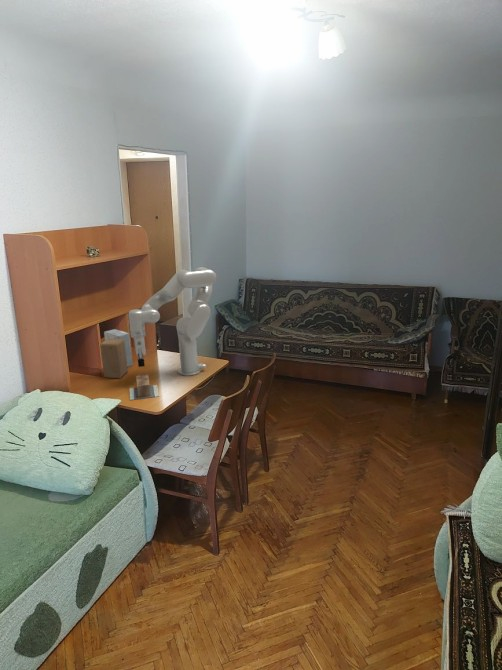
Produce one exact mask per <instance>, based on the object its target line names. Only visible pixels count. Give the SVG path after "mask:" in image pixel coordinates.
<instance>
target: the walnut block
mask: <svg viewBox="0 0 502 670" xmlns="http://www.w3.org/2000/svg"><path fill="white" fill-rule="evenodd" d="M135 378H136V387H137V390H138V398H139V397H147V396H151V394H150V386H151V385H150V378H149V374H141V375H136V377H135Z"/></svg>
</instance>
